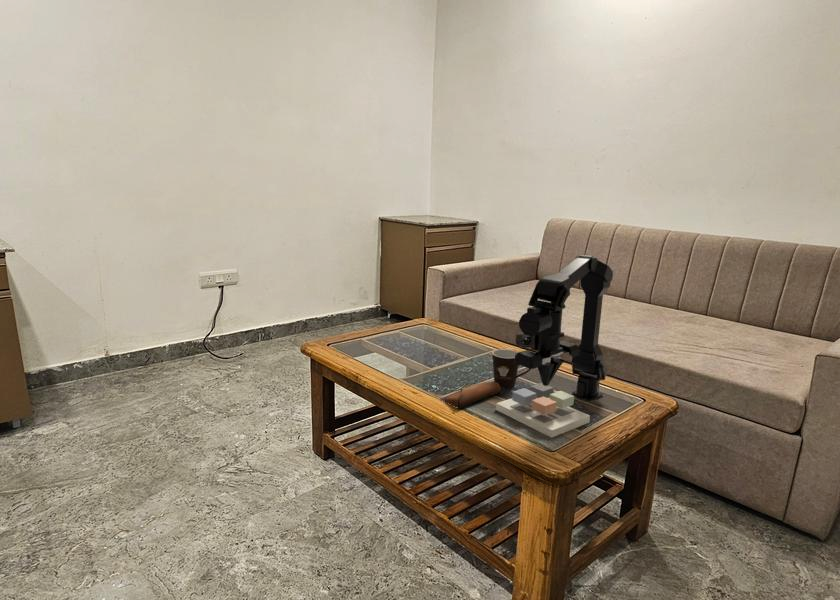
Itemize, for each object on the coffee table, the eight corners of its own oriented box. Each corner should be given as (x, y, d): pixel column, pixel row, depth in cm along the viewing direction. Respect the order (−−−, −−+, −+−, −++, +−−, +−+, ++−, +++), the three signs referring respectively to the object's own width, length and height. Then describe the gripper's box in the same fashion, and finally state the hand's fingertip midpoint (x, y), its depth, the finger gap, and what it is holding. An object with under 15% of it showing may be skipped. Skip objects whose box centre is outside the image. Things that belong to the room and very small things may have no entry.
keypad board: (532, 397, 163) (533, 390, 162) (589, 422, 147) (589, 414, 147) (496, 409, 154) (496, 402, 154) (551, 437, 139) (552, 429, 138)
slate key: (523, 396, 154) (524, 388, 153) (535, 401, 150) (536, 393, 150) (512, 400, 151) (512, 391, 150) (524, 405, 148) (524, 397, 147)
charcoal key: (540, 390, 158) (541, 382, 157) (553, 396, 154) (553, 387, 154) (529, 394, 155) (530, 386, 155) (542, 399, 152) (542, 391, 151)
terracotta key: (542, 405, 148) (543, 396, 148) (556, 410, 145) (556, 402, 144) (531, 409, 146) (531, 400, 145) (544, 415, 142) (545, 406, 141)
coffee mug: (485, 383, 173) (486, 353, 171) (502, 376, 179) (503, 347, 177) (515, 394, 165) (517, 362, 163) (532, 386, 171) (534, 356, 169)
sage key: (560, 399, 152) (560, 390, 152) (573, 404, 149) (574, 396, 148) (549, 402, 150) (549, 394, 149) (562, 408, 146) (563, 399, 146)
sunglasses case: (479, 385, 172) (489, 370, 168) (494, 402, 168) (504, 387, 164) (438, 400, 160) (447, 385, 156) (453, 419, 156) (462, 404, 152)
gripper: (549, 315, 152) (545, 369, 155) (500, 326, 141) (497, 383, 144) (582, 324, 143) (578, 381, 147) (533, 336, 132) (529, 397, 136)
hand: (545, 385), depth 144 cm, fingers closed
